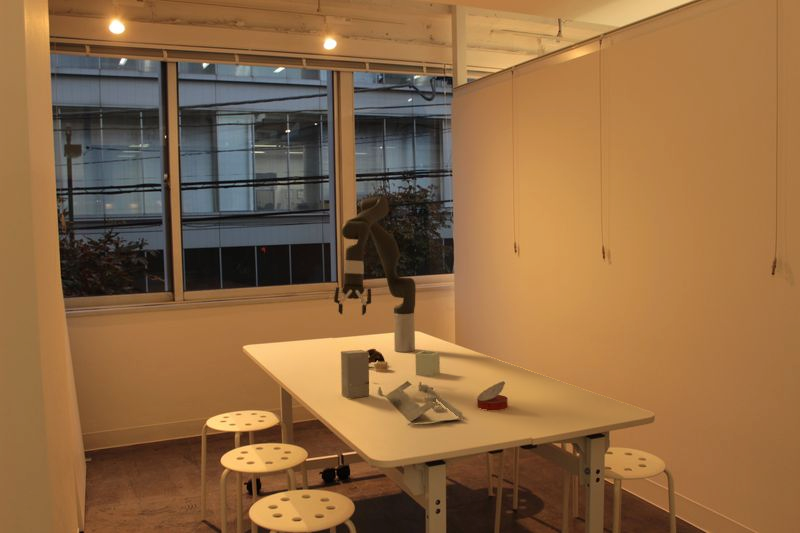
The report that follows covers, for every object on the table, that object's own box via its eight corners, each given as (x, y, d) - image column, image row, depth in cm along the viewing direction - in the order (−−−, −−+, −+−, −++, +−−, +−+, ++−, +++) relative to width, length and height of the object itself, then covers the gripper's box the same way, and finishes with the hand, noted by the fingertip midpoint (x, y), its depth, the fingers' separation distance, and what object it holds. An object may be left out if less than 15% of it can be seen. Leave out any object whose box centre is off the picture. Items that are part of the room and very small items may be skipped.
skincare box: (348, 399, 268) (347, 353, 267) (340, 395, 275) (339, 350, 274) (370, 396, 272) (369, 351, 271) (362, 392, 279) (361, 348, 277)
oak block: (377, 371, 313) (377, 361, 312) (387, 371, 312) (387, 361, 312) (376, 373, 309) (376, 363, 308) (386, 373, 308) (386, 363, 308)
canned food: (501, 424, 251) (497, 401, 246) (473, 417, 256) (469, 394, 251) (515, 401, 259) (512, 378, 254) (488, 395, 264) (484, 372, 259)
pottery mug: (388, 369, 319) (379, 353, 316) (368, 379, 320) (358, 363, 317) (385, 356, 331) (376, 340, 328) (365, 366, 331) (356, 350, 328)
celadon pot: (423, 373, 307) (423, 350, 307) (439, 374, 304) (439, 351, 304) (415, 376, 301) (415, 353, 300) (432, 378, 298) (432, 355, 297)
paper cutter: (426, 391, 280) (426, 375, 280) (467, 424, 237) (467, 406, 236) (377, 395, 276) (377, 379, 275) (409, 429, 232) (409, 411, 232)
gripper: (370, 273, 309) (368, 315, 308) (334, 272, 306) (332, 313, 305) (373, 273, 301) (371, 315, 301) (336, 271, 299) (334, 314, 298)
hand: (352, 314), depth 303 cm, fingers open, 8 cm apart
